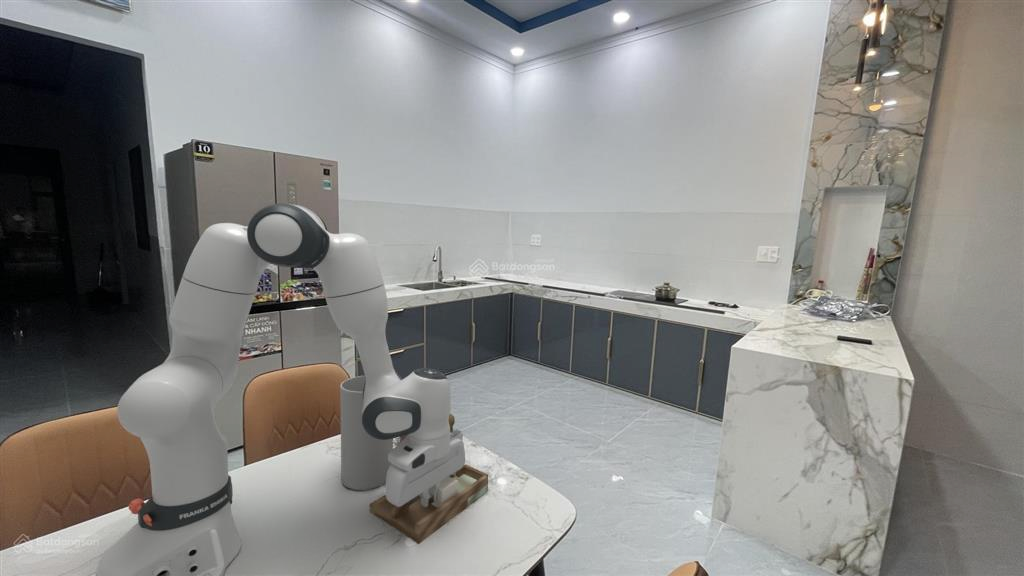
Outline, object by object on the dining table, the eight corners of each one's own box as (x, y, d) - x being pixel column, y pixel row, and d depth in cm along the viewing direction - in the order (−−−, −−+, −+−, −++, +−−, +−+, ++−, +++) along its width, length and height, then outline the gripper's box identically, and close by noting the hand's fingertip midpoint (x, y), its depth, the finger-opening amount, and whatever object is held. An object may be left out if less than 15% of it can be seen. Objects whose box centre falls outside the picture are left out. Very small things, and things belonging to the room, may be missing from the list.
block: (441, 510, 90) (442, 491, 90) (426, 501, 93) (426, 482, 93) (457, 499, 94) (458, 480, 94) (442, 491, 97) (442, 473, 97)
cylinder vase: (363, 498, 97) (363, 396, 94) (330, 480, 103) (329, 384, 100) (403, 473, 107) (403, 381, 105) (371, 459, 114) (371, 372, 111)
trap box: (418, 544, 83) (418, 525, 82) (369, 512, 92) (369, 495, 91) (489, 490, 101) (489, 475, 101) (442, 468, 111) (443, 454, 110)
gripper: (452, 422, 99) (451, 477, 100) (380, 457, 82) (380, 521, 84) (472, 430, 95) (470, 486, 96) (401, 468, 78) (401, 535, 80)
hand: (428, 503), depth 90 cm, fingers closed
